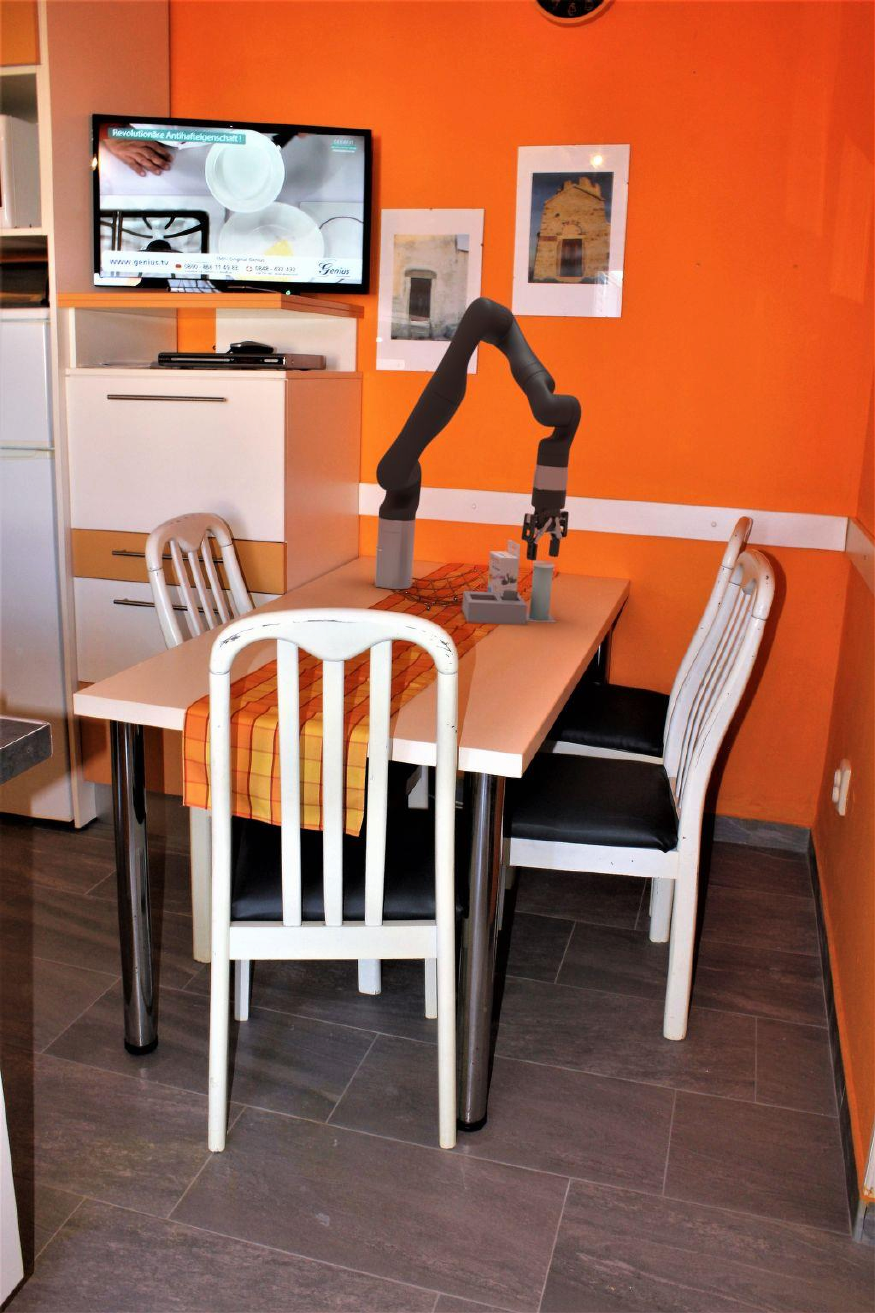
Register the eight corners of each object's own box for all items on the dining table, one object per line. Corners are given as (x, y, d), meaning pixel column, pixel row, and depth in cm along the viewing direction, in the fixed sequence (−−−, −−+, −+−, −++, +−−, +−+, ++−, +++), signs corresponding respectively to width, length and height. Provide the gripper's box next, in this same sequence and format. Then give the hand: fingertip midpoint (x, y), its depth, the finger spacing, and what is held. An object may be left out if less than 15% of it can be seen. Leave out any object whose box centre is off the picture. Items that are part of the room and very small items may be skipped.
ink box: (485, 597, 277) (490, 538, 273) (504, 597, 278) (509, 538, 275) (497, 605, 269) (502, 544, 265) (516, 605, 271) (521, 544, 267)
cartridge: (524, 617, 255) (529, 561, 252) (535, 614, 259) (540, 560, 256) (541, 621, 253) (546, 565, 249) (553, 618, 256) (558, 563, 253)
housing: (467, 624, 248) (469, 602, 246) (462, 612, 259) (463, 590, 258) (525, 626, 249) (527, 605, 248) (517, 614, 260) (519, 593, 259)
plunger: (502, 616, 252) (504, 592, 251) (500, 613, 256) (502, 589, 254) (516, 617, 253) (518, 593, 251) (514, 614, 256) (516, 590, 254)
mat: (525, 623, 252) (525, 620, 252) (520, 616, 259) (520, 613, 259) (555, 624, 253) (555, 622, 253) (550, 617, 260) (550, 615, 260)
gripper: (554, 482, 255) (547, 552, 260) (517, 485, 245) (510, 558, 249) (581, 487, 251) (573, 558, 255) (544, 489, 240) (537, 564, 244)
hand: (542, 558), depth 252 cm, fingers open, 8 cm apart
